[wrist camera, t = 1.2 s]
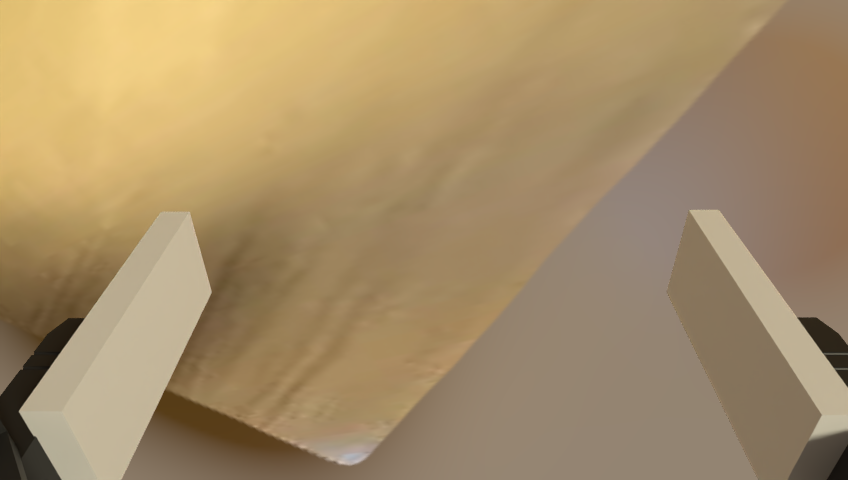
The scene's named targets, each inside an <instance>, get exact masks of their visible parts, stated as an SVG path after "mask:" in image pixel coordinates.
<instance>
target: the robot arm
mask: <svg viewBox="0 0 848 480" xmlns="http://www.w3.org/2000/svg"><path fill="white" fill-rule="evenodd" d="M211 293H212V291H211V288H210V284H209V281H208V277H207V273H206V270H205V266H204V262H203V259H202V255H201V252H200V248H199V244H198V241H197V237H196V233H195V230H194V226H193V223H192V219H191V215H190V212H161V213H160V214H159V215H158V217H157V218H156V220H155V221H154V222H153V224H152V225H151V227H150V228H149V229H148V231H147V232H146V234H145V235H144V236H143V238H142V239H141V241H140V242H139V243H138V245H137V246H136V248H135V249H134V250H133V252H132V253H131V255H130V256H129V257H128V259H127V260H126V262H125V263H124V264H123V266H122V267H121V269H120V270H119V271H118V273H117V274H116V276H115V277H114V278H113V280H112V281H111V283H110V284H109V285H108V287H107V288H106V290H105V291H104V292H103V294H102V295H101V297H100V298H99V299H98V301H97V302H96V304H95V305H94V306H93V308H92V309H91V311H90V312H89V313H88V315H87V316H86V318H68V319H67V320H66V321H64V322H63V323H62V324H60V325H59V326H58V327H56V328H55V329H54V330H52V331H51V332H50V333H48V334H47V336H46V337H45V338H44V340H43V341H42V342H41V343H40V345H39V346H38V348H37V349H36V350H35V351H34V355H32V356H31V357H30V358H29V359H28V360H27V362H26V363H25V364H24V366H23V370H20V371H19V372H18V374H17V375H16V376H15V378H14V379H13V380H12V381H11V383H10V384H9V385H8V387H7V388H6V389H5V391H4V392H3V393H2V394H1V396H0V480H121V479H122V477H123V475H124V473H125V471H126V469H127V467H128V464H129V462H130V460H131V458H132V456H133V454H134V452H135V450H136V448H137V446H138V444H139V442H140V440H141V438H142V436H143V434H144V432H145V429H146V427H147V425H148V423H149V421H150V419H151V417H152V415H153V413H154V411H155V409H156V407H157V405H158V402H159V400H160V398H161V396H162V394H163V392H164V390H165V388H166V386H167V384H168V382H169V380H170V378H171V376H172V374H173V371H174V369H175V367H176V365H177V363H178V361H179V359H180V357H181V355H182V353H183V351H184V349H185V347H186V345H187V342H188V340H189V338H190V336H191V334H192V332H193V330H194V328H195V326H196V324H197V322H198V320H199V318H200V316H201V313H202V311H203V309H204V307H205V305H206V303H207V301H208V299H209V297H210V295H211ZM667 294H668V296H669V298H670V300H671V302H672V304H673V306H674V308H675V310H676V312H677V314H678V316H679V319H680V321H681V323H682V325H683V327H684V329H685V331H686V333H687V335H688V337H689V339H690V341H691V343H692V345H693V347H694V349H695V351H696V353H697V355H698V358H699V359H700V361H701V364H702V366H703V368H704V370H705V372H706V374H707V376H708V378H709V380H710V382H711V384H712V386H713V388H714V390H715V392H716V394H717V397H718V399H719V401H720V403H721V405H722V407H723V409H724V411H725V413H726V415H727V417H728V419H729V421H730V423H731V425H732V427H733V429H734V431H735V433H736V435H737V437H738V440H739V441H740V444H741V446H742V447H743V450H744V452H745V454H746V456H747V458H748V460H749V462H750V464H751V466H752V468H753V470H754V472H755V474H756V477H757V478H758V480H848V345H847V344H846V343H845V341H844V340H843V339H842V338H841V336H840V335H839V334H838V333H837V332H835V331H834V330H833V329H831V328H830V327H829V326H827V325H826V324H824V323H823V322H822V321H820V320H819V319H818V318H797V317H796V316H795V314H794V313H793V312H792V310H791V309H790V308H789V306H788V305H787V303H786V302H785V301H784V299H783V298H782V296H781V295H780V294H779V292H778V291H777V290H776V288H775V287H774V285H773V284H772V283H771V281H770V280H769V279H768V277H767V276H766V275H765V273H764V272H763V270H762V269H761V267H760V266H759V265H758V263H757V262H756V261H755V259H754V258H753V257H752V255H751V254H750V252H749V251H748V250H747V248H746V247H745V245H744V244H743V243H742V242H741V240H740V239H739V237H738V236H737V234H736V233H735V232H734V230H733V229H732V228H731V226H730V225H729V224H728V222H727V221H726V219H725V218H724V217H723V215H722V214H721V212H720V211H719V210H689V212H688V216H687V219H686V223H685V226H684V230H683V234H682V238H681V241H680V245H679V248H678V252H677V256H676V259H675V263H674V267H673V270H672V275H671V278H670V282H669V285H668V289H667Z"/></svg>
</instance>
